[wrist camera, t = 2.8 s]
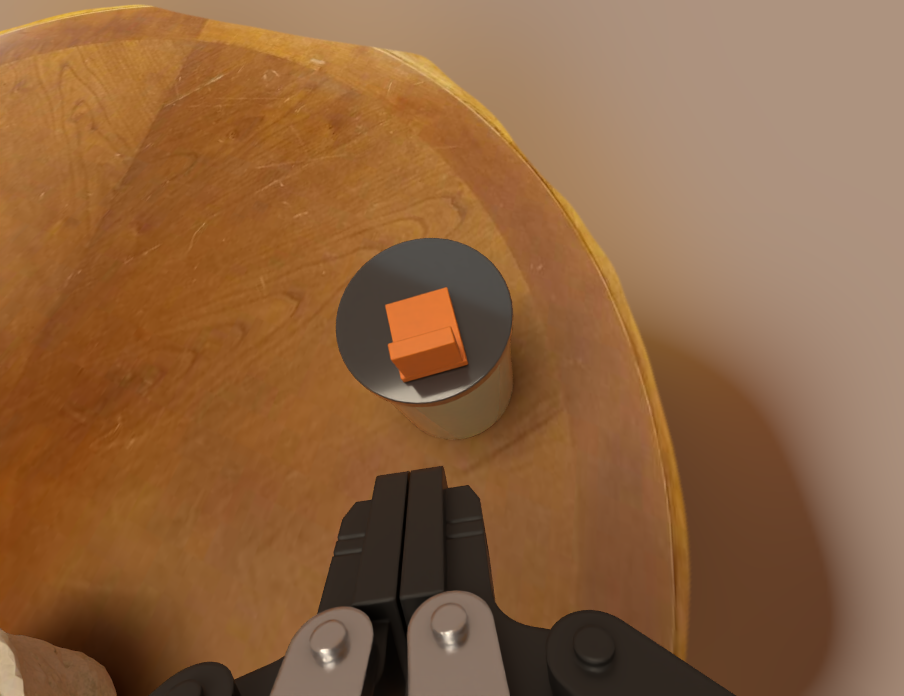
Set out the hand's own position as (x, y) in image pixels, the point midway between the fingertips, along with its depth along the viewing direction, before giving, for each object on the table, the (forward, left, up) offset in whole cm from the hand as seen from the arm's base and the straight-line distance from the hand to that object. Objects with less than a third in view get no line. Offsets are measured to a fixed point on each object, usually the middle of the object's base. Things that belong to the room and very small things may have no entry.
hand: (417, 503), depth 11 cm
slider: (+7, -6, -11) cm, 14 cm away
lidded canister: (+7, -6, -23) cm, 25 cm away
